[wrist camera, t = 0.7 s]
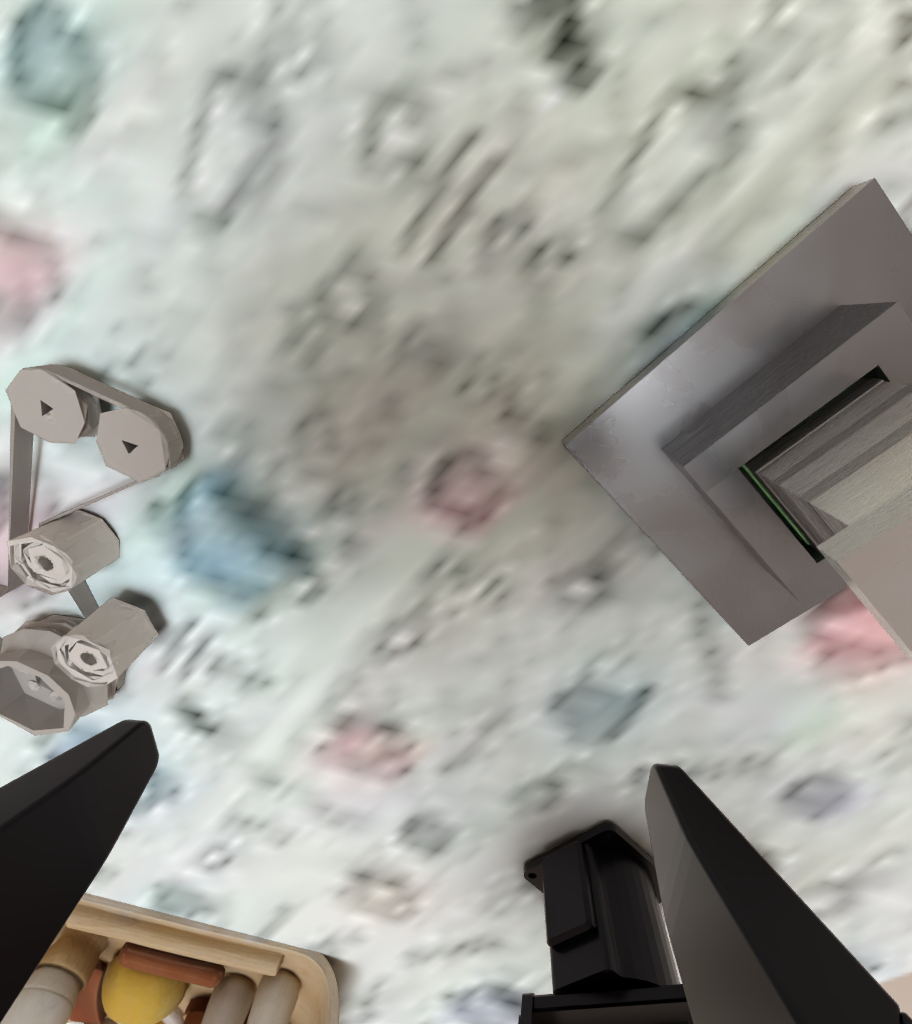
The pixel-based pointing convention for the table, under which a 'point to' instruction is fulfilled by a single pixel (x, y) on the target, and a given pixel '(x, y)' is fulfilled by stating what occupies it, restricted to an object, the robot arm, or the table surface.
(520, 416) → the table surface
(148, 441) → the pulley system
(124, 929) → the toy food set
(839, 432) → the grey slab
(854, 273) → the stand base
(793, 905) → the robot arm
